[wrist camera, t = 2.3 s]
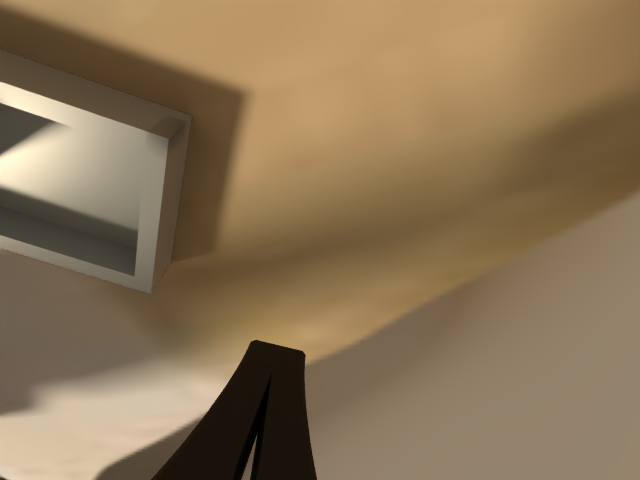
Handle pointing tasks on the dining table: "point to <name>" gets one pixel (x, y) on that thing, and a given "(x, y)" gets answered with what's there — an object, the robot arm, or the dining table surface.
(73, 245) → the tray
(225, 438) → the robot arm
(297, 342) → the dining table surface
